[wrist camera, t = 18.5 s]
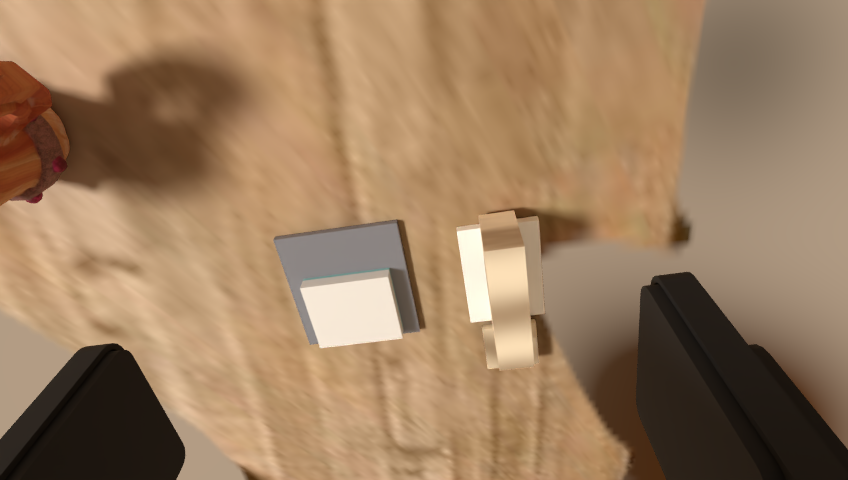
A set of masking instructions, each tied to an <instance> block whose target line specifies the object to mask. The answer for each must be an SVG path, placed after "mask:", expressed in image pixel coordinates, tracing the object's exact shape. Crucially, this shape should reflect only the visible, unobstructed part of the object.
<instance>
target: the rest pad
mask: <svg viewBox="0 0 848 480" xmlns="http://www.w3.org/2000/svg"><path fill="white" fill-rule="evenodd" d="M517 222H518V226H519V229H520V232H521V236H522V239H523V242H524V246H525V256H526V269H527V281H528V293H529V305H530V315H539V314H545V306H544V291H543V276H542V260H541V245H540V230H539V219H538V217H537V216H533V217H525V218H518V219H517ZM456 228H457V236H458V242H459V249H460V256H461V262H462V269H463V275H464V282H465V288H466V295H467V301H468V308H469V314H470V321H471V323H472V322H480V321H489V320H492V319H491V311H490V303H489V295H488V287H487V280H486V272H485V264H484V256H483V248H482V241H481V233H480V225H479V224H474V225H467V226H460V227H456Z"/></svg>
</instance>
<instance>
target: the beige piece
mask: <svg viewBox="0 0 848 480" xmlns="http://www.w3.org/2000/svg"><path fill="white" fill-rule="evenodd" d="M478 217H479V225H480V233H481V241H482V248H483V256H484V264H485V272H486V280H487V287H488V295H489V303H490V311H491V319H492V324H490V325H482V332H483V339H484V346H485V353H486V360H487V367H488V369H493V368H499V371H503V370H512V369H521V368H530V367H535V366H534V364H538V363H539V357H538V344H537V331H536V322H535V319H532V320H531V317H530V305H529V293H528V281H527V269H526V256H525V246H524V242H523V239H522V236H521V232H520V229H519V226H518V222H517V219H516V216H515V212H514V210H513V211H506V212H499V213H491V214H484V215H478Z"/></svg>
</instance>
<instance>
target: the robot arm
mask: <svg viewBox="0 0 848 480" xmlns="http://www.w3.org/2000/svg"><path fill="white" fill-rule="evenodd" d="M636 404H637V409H638V413H639V417H640V419H641V422H642V424H643V426H644V429H645V431H646V433H647V436H648V438H649V440H650V443H651V445H652V447H653V449H654V452H655V454H656V456H657V459H658V461H659V463H660V466H661V468H662V470H663V473H664V475H665V477H666V480H848V450H847V448H846V447H845V446H844V444H843V443H842V442H841V441H840V440H839V438H838V437H837V436H836V435H835V434H834V432H833V431H832V430H831V428H830V427H829V426H828V425H827V424H826V422H825V421H824V420H823V419H822V417H821V416H820V415H819V414H818V413H817V411H816V410H815V409H814V408H813V406H812V405H811V404H810V403H809V401H808V400H807V399H806V398H805V397H804V395H803V394H802V393H801V392H800V390H799V389H798V388H797V387H796V386H795V384H794V383H793V382H792V381H791V379H790V378H789V377H788V376H787V375H786V373H785V372H784V371H783V370H782V368H781V367H780V366H779V365H778V363H777V362H776V361H775V360H774V359H773V357H772V356H771V355H770V354H769V353H768V352H767V351H766V350H765V349H764V348H763V347H761V346H758V345H756V344H754V345H748V344H747V343H746V342H745V341H744V339H743V338H742V337H741V335H740V334H739V333H738V331H737V330H736V329H735V328H734V326H733V325H732V324H731V322H730V321H729V320H728V319H727V317H726V316H725V315H724V314H723V312H722V311H721V310H720V308H719V307H718V306H717V305H716V303H715V302H714V301H713V299H712V298H711V297H710V296H709V294H708V293H707V292H706V290H705V289H704V288H703V287H702V286H701V284H700V283H699V281H698V280H697V279H696V278H695V276H694V275H693V274H691V273H690V272H683V273H675V274H667V275H659V276H654V277H653V279H652V281H651V285H648V286H643V287H642V289H641V297H640V320H639V343H638V364H637V386H636ZM184 459H185V447H184V445H183V443H182V441H181V439H180V437H179V436H178V434H177V432H176V430H175V429H174V427H173V425H172V423H171V422H170V420H169V418H168V417H167V415H166V413H165V411H164V410H163V408H162V406H161V404H160V402H159V401H158V399H157V397H156V395H155V394H154V392H153V390H152V388H151V387H150V385H149V383H148V381H147V380H146V378H145V376H144V374H143V373H142V371H141V369H140V367H139V366H138V364H137V362H136V360H135V359H134V357H133V355H132V354H131V353H130V352H129V351H127V350H124V349H123V348H122V346H120V345H118V344H114V343H111V344H103V345H95V346H87V347H84V348H81V349H80V350H78V351H77V352H76V353H75V354H74V355H73V357H72V358H71V359H70V360H69V361H68V362H67V363H66V365H65V366H64V367H63V368H62V369H61V370H60V371H59V373H58V374H57V375H56V376H55V377H54V378H53V379H52V381H51V382H50V383H49V384H48V385H47V386H46V388H45V389H44V390H43V391H42V392H41V393H40V394H39V396H38V397H37V398H36V399H35V400H34V401H33V402H32V404H31V405H30V406H29V407H28V408H27V409H26V411H25V412H24V413H23V414H22V415H21V416H20V417H19V419H18V420H17V421H16V422H15V423H14V424H13V425H12V426H11V428H10V429H9V430H8V431H7V432H6V433H5V435H4V436H3V437H2V438H1V439H0V480H176V478H177V477H178V475H179V473H180V471H181V468H182V466H183V463H184Z"/></svg>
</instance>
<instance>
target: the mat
mask: <svg viewBox="0 0 848 480" xmlns="http://www.w3.org/2000/svg"><path fill="white" fill-rule="evenodd" d="M274 243H275V246H276V249H277V252H278V255H279V258H280V260H281V263H282V266H283V269H284V272H285V275H286V277H287V280H288V283H289V286H290V289H291V292H292V295H293V297H294V300H295V303H296V306H297V309H298V312H299V315H300V317H301V320H302V323H303V326H304V329H305V332H306V334H307V337H308V340H309V343H310V345H311V344H319V343H318V340H317V337H316V334H315V331H314V328H313V325H312V322H311V320H310V317H309V314H308V311H307V308H306V305H305V302H304V299H303V296H302V293H301V290H300V287H301V284H302V282H303V279H307V278H315V277H322V276H330V275H337V274H345V273H353V272H360V271H368V270H375V269H383V268H389V269H390V273H391V277H392V281H393V286H394V290H395V294H396V299H397V303H398V307H399V311H400V316H401V320H402V324H403V333H412V332H420V325H419V321H418V316H417V311H416V306H415V302H414V297H413V292H412V288H411V283H410V278H409V274H408V269H407V264H406V260H405V255H404V250H403V246H402V241H401V236H400V232H399V227H398V222H397V220H392V221H385V222H377V223H370V224H363V225H356V226H349V227H342V228H335V229H327V230H320V231H313V232H306V233H299V234H292V235H285V236H278V237H275V238H274Z"/></svg>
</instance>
